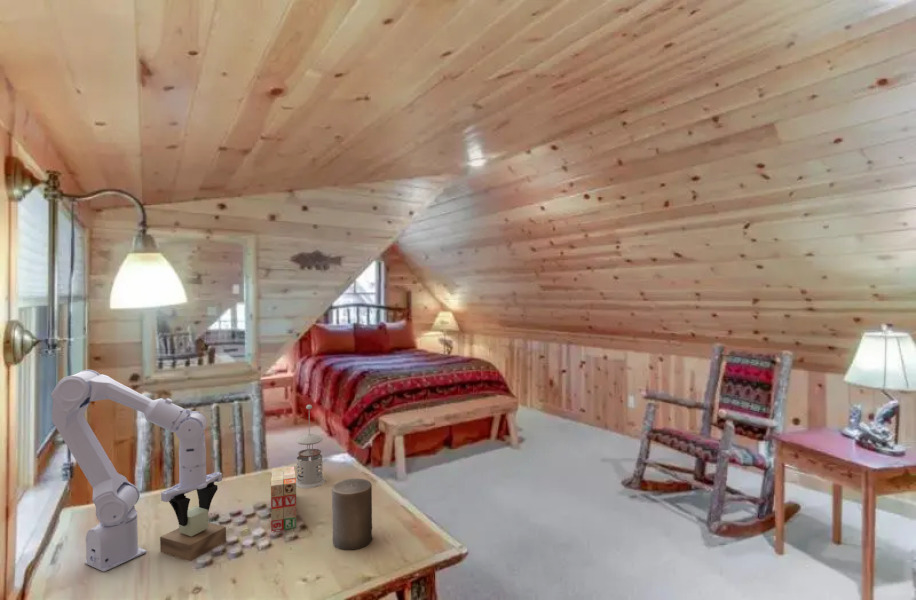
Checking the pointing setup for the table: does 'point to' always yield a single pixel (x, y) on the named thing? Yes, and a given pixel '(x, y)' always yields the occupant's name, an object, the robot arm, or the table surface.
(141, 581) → the table surface
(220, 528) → the walnut block
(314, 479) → the french press
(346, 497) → the pillar candle
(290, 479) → the stack of blocks
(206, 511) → the sage cube
